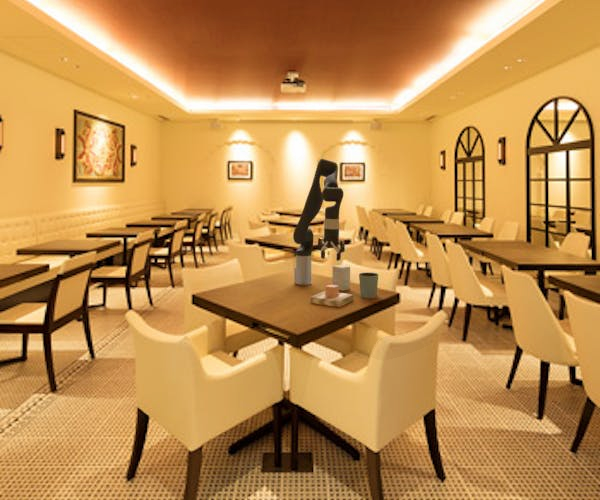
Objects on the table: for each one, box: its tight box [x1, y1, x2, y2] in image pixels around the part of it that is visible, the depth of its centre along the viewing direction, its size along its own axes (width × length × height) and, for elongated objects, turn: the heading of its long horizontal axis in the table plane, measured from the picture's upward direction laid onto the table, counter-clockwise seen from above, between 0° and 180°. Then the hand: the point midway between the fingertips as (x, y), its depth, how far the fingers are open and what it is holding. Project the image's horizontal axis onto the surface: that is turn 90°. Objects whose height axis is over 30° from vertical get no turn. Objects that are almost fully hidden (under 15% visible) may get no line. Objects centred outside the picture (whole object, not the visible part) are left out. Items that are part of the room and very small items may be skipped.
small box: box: [332, 264, 351, 291], centre depth 263 cm, size 8×6×13 cm
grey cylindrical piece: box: [358, 272, 379, 299], centre depth 246 cm, size 10×10×12 cm
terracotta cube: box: [324, 284, 340, 297], centre depth 235 cm, size 5×5×5 cm
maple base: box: [310, 290, 354, 308], centre depth 236 cm, size 16×16×3 cm
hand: (330, 259), depth 235 cm, fingers open, 8 cm apart
